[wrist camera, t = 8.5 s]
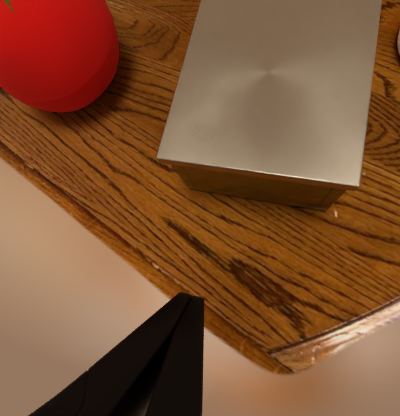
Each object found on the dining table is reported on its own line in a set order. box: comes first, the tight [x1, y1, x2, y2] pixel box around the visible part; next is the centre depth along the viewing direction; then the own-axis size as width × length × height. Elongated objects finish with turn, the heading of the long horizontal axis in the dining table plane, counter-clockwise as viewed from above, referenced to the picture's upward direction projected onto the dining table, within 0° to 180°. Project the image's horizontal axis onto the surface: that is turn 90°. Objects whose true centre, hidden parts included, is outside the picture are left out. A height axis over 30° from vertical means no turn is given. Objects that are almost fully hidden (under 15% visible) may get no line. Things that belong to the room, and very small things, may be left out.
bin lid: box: [156, 0, 382, 191], centre depth 17 cm, size 13×12×1 cm
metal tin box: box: [171, 165, 346, 212], centre depth 21 cm, size 13×12×7 cm
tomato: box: [0, 0, 120, 113], centre depth 25 cm, size 13×14×12 cm
